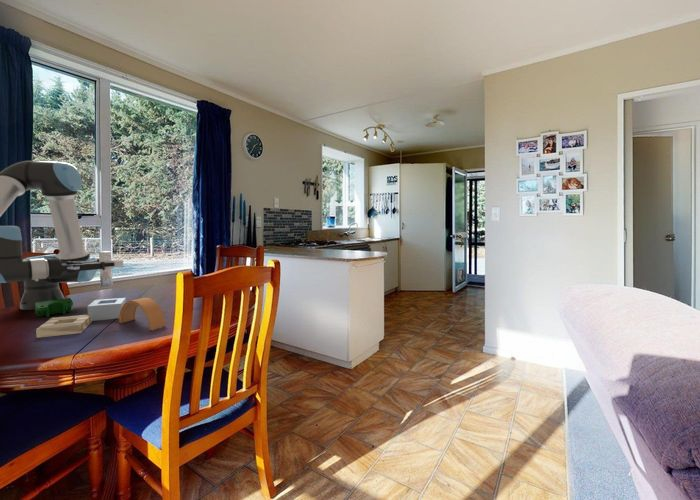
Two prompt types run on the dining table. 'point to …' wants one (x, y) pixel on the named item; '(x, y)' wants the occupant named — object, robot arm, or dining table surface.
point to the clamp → (53, 307)
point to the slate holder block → (106, 308)
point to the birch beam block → (64, 326)
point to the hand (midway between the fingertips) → (120, 262)
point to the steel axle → (107, 273)
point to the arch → (149, 309)
